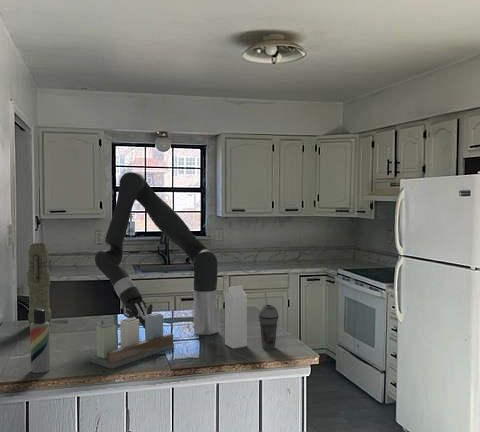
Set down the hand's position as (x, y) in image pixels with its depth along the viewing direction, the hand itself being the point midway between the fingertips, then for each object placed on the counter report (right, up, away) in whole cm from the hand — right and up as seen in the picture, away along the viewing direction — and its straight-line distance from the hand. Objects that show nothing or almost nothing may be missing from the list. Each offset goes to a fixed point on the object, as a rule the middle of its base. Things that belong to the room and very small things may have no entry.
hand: (149, 329), depth 187 cm
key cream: (-5, -5, -8) cm, 11 cm away
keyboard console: (-4, -7, -9) cm, 12 cm away
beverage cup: (+44, -6, -2) cm, 44 cm away
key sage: (-12, -5, -16) cm, 21 cm away
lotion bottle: (-30, -8, -25) cm, 40 cm away
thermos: (-51, -5, +28) cm, 59 cm away
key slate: (+2, -5, -1) cm, 5 cm away
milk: (+32, -6, +1) cm, 32 cm away
